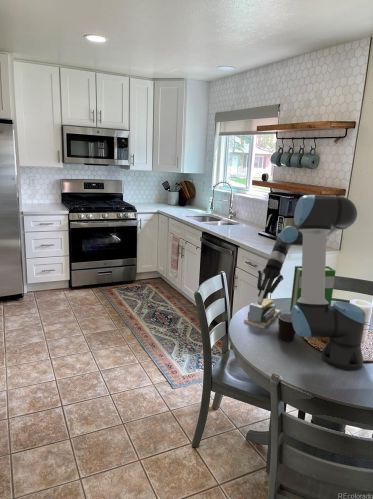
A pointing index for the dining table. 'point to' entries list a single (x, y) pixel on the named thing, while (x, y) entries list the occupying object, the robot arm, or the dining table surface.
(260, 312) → the heat-sink block
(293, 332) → the coffee mug
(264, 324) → the birch board
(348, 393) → the dining table surface
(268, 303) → the tan flat bar
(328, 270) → the hardback book
